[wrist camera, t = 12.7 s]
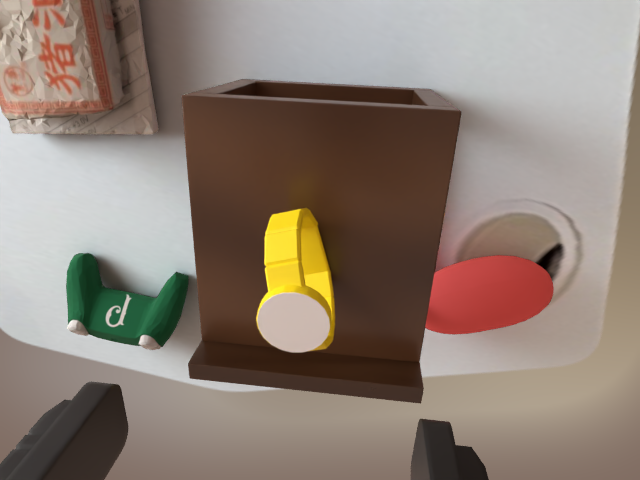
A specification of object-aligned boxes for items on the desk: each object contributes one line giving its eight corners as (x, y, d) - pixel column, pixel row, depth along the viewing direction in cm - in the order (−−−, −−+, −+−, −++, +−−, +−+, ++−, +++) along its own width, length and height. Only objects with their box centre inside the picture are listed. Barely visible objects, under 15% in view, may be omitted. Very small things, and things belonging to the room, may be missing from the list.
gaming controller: (93, 261, 37) (65, 332, 35) (71, 247, 33) (39, 325, 31) (198, 284, 37) (177, 356, 35) (188, 272, 33) (163, 351, 31)
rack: (241, 78, 28) (160, 100, 17) (431, 89, 27) (472, 118, 16) (247, 271, 34) (189, 378, 23) (404, 284, 33) (421, 403, 22)
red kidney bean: (420, 228, 32) (396, 294, 29) (559, 239, 28) (551, 318, 24) (428, 274, 36) (407, 338, 32) (552, 290, 32) (546, 366, 28)
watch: (267, 199, 20) (230, 254, 15) (324, 187, 20) (307, 240, 15) (299, 306, 23) (277, 388, 17) (351, 298, 22) (346, 380, 17)
